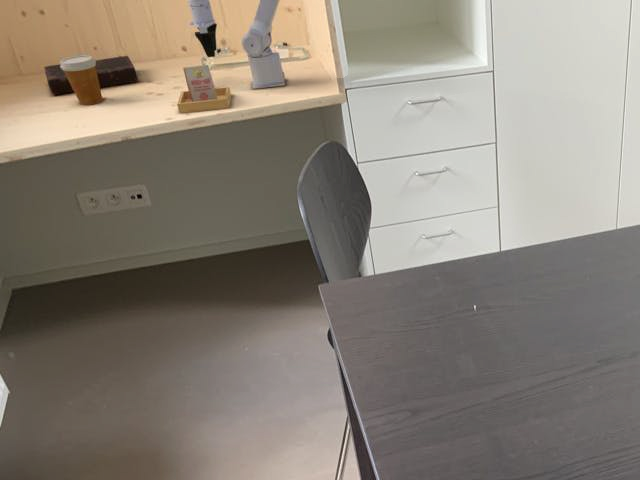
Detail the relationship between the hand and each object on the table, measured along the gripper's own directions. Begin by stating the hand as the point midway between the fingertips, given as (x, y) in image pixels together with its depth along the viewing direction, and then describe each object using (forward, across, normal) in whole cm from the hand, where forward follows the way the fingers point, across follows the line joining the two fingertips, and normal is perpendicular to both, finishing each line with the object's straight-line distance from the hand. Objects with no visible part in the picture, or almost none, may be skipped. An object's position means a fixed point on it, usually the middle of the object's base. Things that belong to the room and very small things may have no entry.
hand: (212, 53), depth 236 cm
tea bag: (+9, +18, -3) cm, 20 cm away
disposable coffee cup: (+10, +3, -37) cm, 38 cm away
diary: (+10, -19, -40) cm, 45 cm away
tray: (+9, +18, -3) cm, 21 cm away
